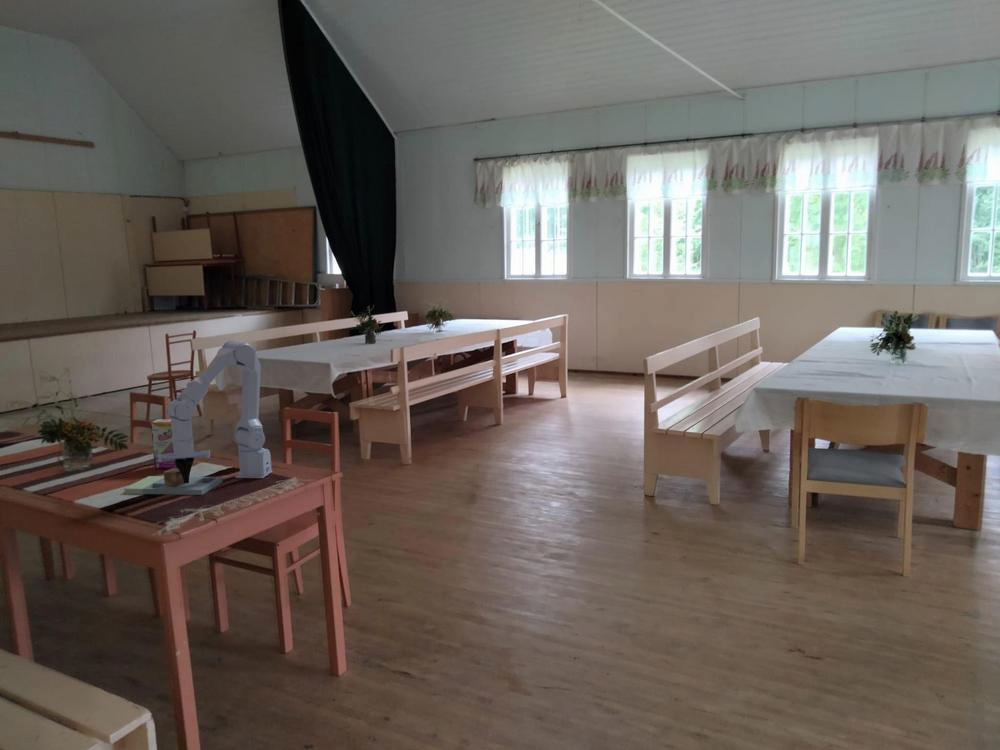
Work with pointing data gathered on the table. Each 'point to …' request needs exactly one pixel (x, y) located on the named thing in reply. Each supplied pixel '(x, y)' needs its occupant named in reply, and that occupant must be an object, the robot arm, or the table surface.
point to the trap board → (158, 487)
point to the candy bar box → (162, 442)
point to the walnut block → (173, 478)
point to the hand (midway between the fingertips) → (186, 482)
